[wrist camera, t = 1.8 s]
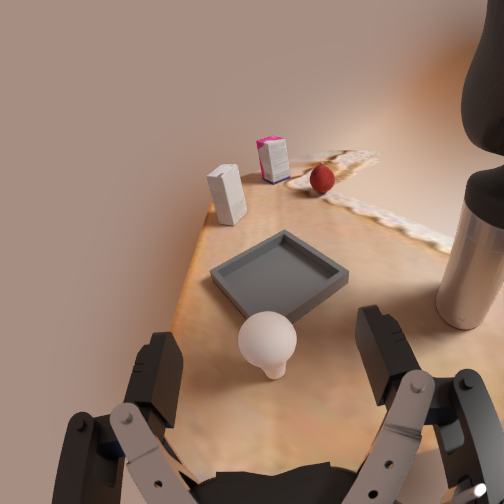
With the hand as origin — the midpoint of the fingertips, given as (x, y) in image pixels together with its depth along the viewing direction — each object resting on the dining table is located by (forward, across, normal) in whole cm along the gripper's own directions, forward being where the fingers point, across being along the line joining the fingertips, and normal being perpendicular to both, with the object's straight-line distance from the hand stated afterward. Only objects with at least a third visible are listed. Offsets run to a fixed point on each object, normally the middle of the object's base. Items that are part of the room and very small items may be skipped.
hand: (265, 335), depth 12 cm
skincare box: (+51, +6, +18) cm, 55 cm away
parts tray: (+29, -1, +20) cm, 35 cm away
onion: (+56, -16, +16) cm, 60 cm away
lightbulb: (+13, 0, +22) cm, 26 cm away
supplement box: (+69, -6, +15) cm, 71 cm away
